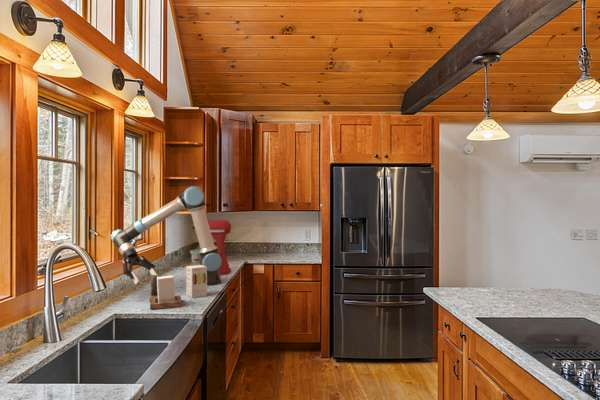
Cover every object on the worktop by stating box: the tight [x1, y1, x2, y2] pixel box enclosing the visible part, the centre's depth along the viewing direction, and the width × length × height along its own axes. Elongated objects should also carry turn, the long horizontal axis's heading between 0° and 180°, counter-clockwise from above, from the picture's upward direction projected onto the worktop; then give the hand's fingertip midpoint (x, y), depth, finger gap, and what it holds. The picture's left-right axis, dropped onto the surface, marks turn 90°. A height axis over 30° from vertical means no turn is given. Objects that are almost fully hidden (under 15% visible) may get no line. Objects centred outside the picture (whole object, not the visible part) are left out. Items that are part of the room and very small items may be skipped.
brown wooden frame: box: [149, 274, 182, 310], centre depth 214 cm, size 16×25×13 cm, turn 18°
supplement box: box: [185, 265, 208, 299], centre depth 229 cm, size 10×9×17 cm
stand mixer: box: [189, 219, 232, 276], centre depth 299 cm, size 24×32×40 cm
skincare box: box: [157, 274, 176, 303], centre depth 209 cm, size 8×6×15 cm
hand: (147, 280), depth 223 cm, fingers open, 13 cm apart
